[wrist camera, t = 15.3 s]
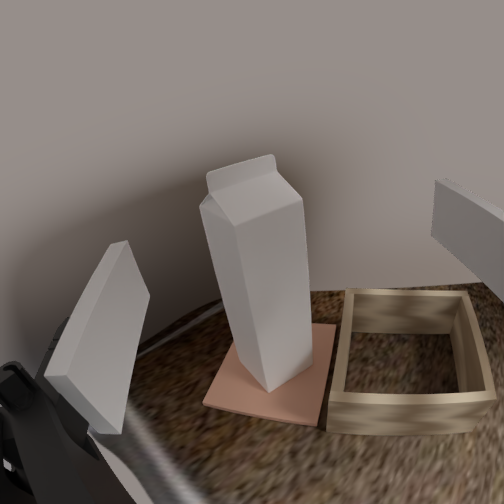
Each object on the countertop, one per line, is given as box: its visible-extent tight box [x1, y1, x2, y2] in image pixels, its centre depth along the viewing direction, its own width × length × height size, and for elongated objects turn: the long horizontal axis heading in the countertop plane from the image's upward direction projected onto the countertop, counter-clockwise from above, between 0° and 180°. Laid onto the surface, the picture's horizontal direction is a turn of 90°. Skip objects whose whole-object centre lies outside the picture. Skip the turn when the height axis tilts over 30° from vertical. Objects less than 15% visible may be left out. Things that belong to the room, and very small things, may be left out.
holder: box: [326, 288, 497, 436], centre depth 26 cm, size 15×15×6 cm
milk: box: [199, 154, 313, 393], centre depth 27 cm, size 6×6×22 cm
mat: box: [202, 323, 336, 426], centre depth 33 cm, size 12×14×1 cm
